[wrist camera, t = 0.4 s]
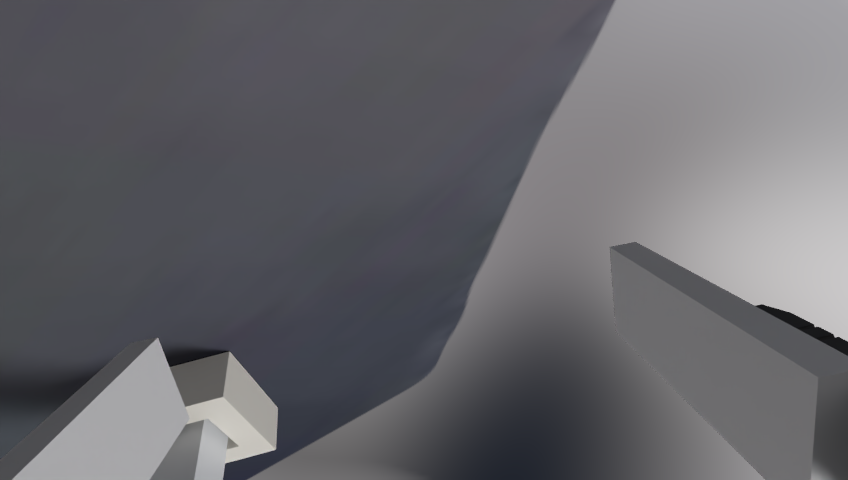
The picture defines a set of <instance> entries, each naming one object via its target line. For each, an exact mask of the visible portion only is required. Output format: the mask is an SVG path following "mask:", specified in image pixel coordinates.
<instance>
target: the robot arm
mask: <svg viewBox="0 0 848 480" xmlns="http://www.w3.org/2000/svg"><path fill="white" fill-rule="evenodd" d="M610 258H611V272H612V286H613V301H614V315H615V327H616V333H617V334H618V335H619V336H620V337H621V338H622V339H623V340H624V341H625V342H626V343H628V344H629V346H630V347H632V348H633V349H634V350H635V351H636V352H637V353H638V354H639V355H640V356H641V357H642V358H643V359H644V360H645V361H646V362H647V363H648V364H649V365H650V366H651V367H652V368H653V369H654V370H655V371H656V372H657V373H658V374H659V375H660V376H661V377H662V378H663V379H664V380H665V381H666V382H667V383H668V384H669V385H670V386H671V387H672V388H673V389H674V390H675V391H676V392H677V393H678V394H679V395H680V396H681V397H682V398H683V399H684V400H685V401H686V402H687V403H688V404H689V405H690V406H692V408H694V410H695V411H696V412H698V413H699V414H700V415H701V416H702V417H703V418H704V419H705V420H706V421H707V422H708V423H709V424H710V425H711V426H712V427H713V428H714V429H715V430H716V431H717V432H718V433H719V434H720V435H721V436H722V437H723V438H724V439H725V440H726V441H727V442H728V443H729V444H730V445H731V446H732V447H733V448H734V449H735V450H736V451H737V452H738V453H739V454H740V455H741V456H742V457H743V458H744V459H745V460H746V461H747V462H748V463H749V464H750V465H751V466H752V467H753V468H754V469H755V470H756V471H757V472H758V473H759V474H760V475H761V476H763V477H764V478H765V479H766V480H848V342H847V341H845V340H843V339H841V338H839V337H837V338H835V337H834V335H833V334H831V333H830V332H828V331H826V330H824V329H821V328H819V327H814V324H812V323H810V322H808V321H806V320H804V319H802V318H800V317H798V316H796V315H794V314H792V313H790V312H786V311H783V310H779V309H775V308H772V307H769V306H765V305H757V306H754V305H752V304H750V303H748V302H746V301H745V300H743V299H741V298H739V297H737V296H735V295H733V294H731V293H729V292H728V291H726V290H724V289H722V288H720V287H718V286H717V285H715V284H713V283H711V282H709V281H707V280H705V279H703V278H702V277H700V276H698V275H696V274H694V273H692V272H691V271H689V270H687V269H685V268H683V267H681V266H679V265H678V264H676V263H674V262H672V261H670V260H668V259H666V258H664V257H663V256H661V255H659V254H657V253H655V252H653V251H651V250H650V249H648V248H646V247H644V246H642V245H640V244H638V243H637V242H633V243H628V244H623V245H618V246H613V247H610ZM189 419H190V418H189V415H188V413H187V410H186V408H185V405H184V403H183V400H182V398H181V395H180V393H179V390H178V387H177V385H176V382H175V380H174V377H173V375H172V372H171V370H170V367H169V365H168V362H167V360H166V357H165V355H164V352H163V350H162V347H161V344H160V342H159V339H158V338H153V339H148V340H143V341H138V342H133V343H130V344H129V345H128V346H127V347H126V348H125V349H124V350H122V351H121V352H120V353H119V354H118V355H117V356H116V357H115V358H114V359H112V360H111V361H110V362H109V363H108V364H107V365H106V366H105V367H103V368H102V369H101V370H100V371H99V372H98V373H97V374H96V375H94V376H93V377H92V378H91V379H90V380H89V381H88V382H87V383H86V384H84V385H83V386H82V387H81V388H80V389H79V390H78V391H77V392H75V393H74V394H73V395H72V396H71V397H70V398H69V399H68V400H67V401H65V402H64V403H63V404H62V405H61V406H60V407H59V408H58V409H56V410H55V411H54V412H53V413H52V414H51V415H50V416H49V417H48V418H46V419H45V420H44V421H43V422H42V423H41V424H40V425H39V426H37V427H36V428H35V429H34V430H33V431H32V432H31V433H30V434H29V435H27V436H26V437H25V438H24V439H23V440H22V441H21V442H20V443H18V444H17V445H16V446H15V447H14V448H13V449H12V450H11V451H10V452H8V453H7V454H6V455H5V456H4V457H3V458H2V459H1V460H0V480H150V479H151V477H152V476H153V474H154V472H155V471H156V469H157V468H158V466H159V465H160V463H161V462H162V460H163V459H164V457H165V456H166V454H167V453H168V451H169V449H170V448H171V446H172V445H173V443H174V442H175V440H176V439H177V437H178V436H179V434H180V433H181V431H182V430H183V428H184V427H185V425H186V423H187V422H188V420H189Z"/></svg>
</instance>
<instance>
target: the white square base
mask: <svg viewBox="0 0 848 480" xmlns="http://www.w3.org/2000/svg"><path fill="white" fill-rule="evenodd" d="M170 370H171V372H172V375H173V377H174V380H175V382H176V385H177V387H178V390H179V393H180V395H181V398H182V400H183V403H184V405H185V408H186V410H187V413H188V415H189V418H190V419H189V420H188V422H187V423H186V424H190V423H193V422H197V421H201V420H205V419H209V420H210V421H211V422H212V423H213V424H214V425H216V426H217V427H218V428H219V429H220V430H221V431H222V432H223V433H225V434H226V435H227V436H228V443H227V451H226V459H225V463H228V462H232V461H236V460H239V459H243V458H247V457H251V456H254V455H258V454H262V453H265V452H269V451H273V450H276V436H277V415H278V407H277V406H276V405H275V404H274V403H273V402H272V400H271V399H270V398H269V397H268V396H267V395H266V393H265V392H264V391H263V390H262V389H261V388H260V386H259V385H258V384H257V383H256V382H255V381H254V379H253V378H252V377H251V376H250V375H249V374H248V372H247V371H246V370H245V369H244V368H243V367H242V365H241V364H240V363H239V362H238V361H237V360H236V358H235V357H234V356H233V355H232V354H231V353H230V351H229V352H225V353H221V354H218V355H214V356H210V357H206V358H202V359H199V360H195V361H191V362H187V363H183V364H180V365H176V366H172V367H170Z"/></svg>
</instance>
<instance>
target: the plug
mask: <svg viewBox="0 0 848 480" xmlns="http://www.w3.org/2000/svg"><path fill="white" fill-rule="evenodd" d="M227 443H228V436H227V435H226V434H225V433H223V432H222V431H221V430H220V429H219V428H218V427H217V426H216V425H214V424H213V423H212V422H211V421H210V420H209V419H205V420H201V421H197V422H193V423H190V424H186V425H185V427H184V428H183V430H182V431H181V433H180V434H179V436H178V437H177V439H176V440H175V442H174V443H173V445H172V446H171V448H170V449H169V451H168V453H167V454H166V456H165V457H164V459H163V460H162V462H161V463H160V465H159V466H158V468H157V469H156V471H155V472H154V474H153V476H152V477H151V479H150V480H223V475H224V467H225V459H226V451H227Z"/></svg>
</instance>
